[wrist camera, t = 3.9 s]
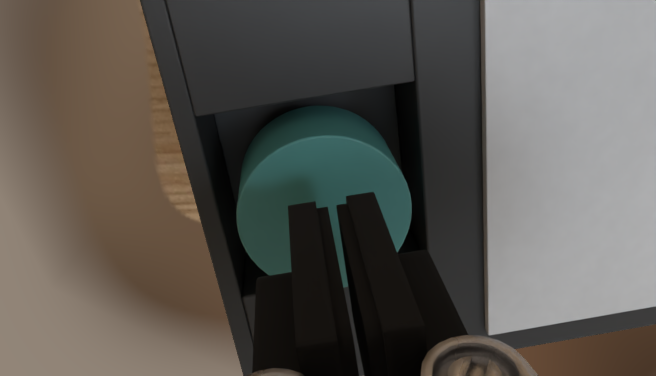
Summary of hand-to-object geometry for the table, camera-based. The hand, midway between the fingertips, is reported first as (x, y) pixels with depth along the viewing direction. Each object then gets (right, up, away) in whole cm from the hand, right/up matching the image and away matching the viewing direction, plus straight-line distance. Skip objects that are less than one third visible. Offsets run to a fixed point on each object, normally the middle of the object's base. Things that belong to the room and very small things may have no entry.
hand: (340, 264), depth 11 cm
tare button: (-1, +2, +4) cm, 4 cm away
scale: (+4, +3, +5) cm, 8 cm away
